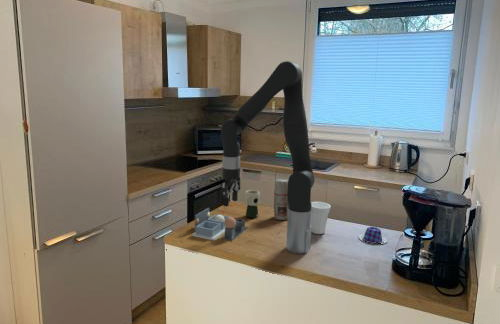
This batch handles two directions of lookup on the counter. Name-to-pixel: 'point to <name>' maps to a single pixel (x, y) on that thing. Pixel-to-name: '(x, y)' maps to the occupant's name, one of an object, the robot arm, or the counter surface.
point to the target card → (201, 217)
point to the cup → (319, 216)
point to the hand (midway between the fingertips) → (230, 203)
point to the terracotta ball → (230, 222)
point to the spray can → (281, 200)
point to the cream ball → (219, 218)
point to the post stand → (235, 230)
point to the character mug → (252, 203)
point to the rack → (210, 228)
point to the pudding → (373, 235)
